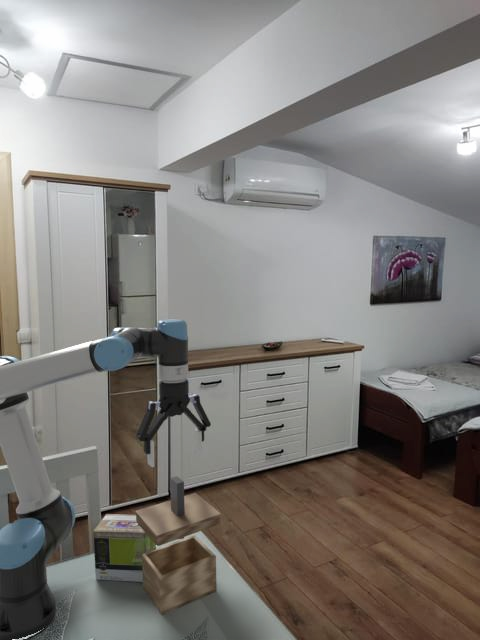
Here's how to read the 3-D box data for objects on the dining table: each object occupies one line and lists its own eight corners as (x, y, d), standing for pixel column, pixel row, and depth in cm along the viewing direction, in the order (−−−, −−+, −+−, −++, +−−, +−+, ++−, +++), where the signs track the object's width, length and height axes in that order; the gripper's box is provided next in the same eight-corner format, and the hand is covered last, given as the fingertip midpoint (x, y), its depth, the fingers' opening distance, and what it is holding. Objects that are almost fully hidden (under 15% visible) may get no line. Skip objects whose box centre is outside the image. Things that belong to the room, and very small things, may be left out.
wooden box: (161, 615, 118) (160, 578, 117) (143, 588, 128) (142, 554, 127) (216, 590, 127) (215, 556, 126) (195, 567, 137) (194, 535, 136)
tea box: (157, 561, 140) (155, 514, 138) (147, 583, 130) (145, 533, 129) (108, 558, 142) (106, 512, 140) (94, 580, 132) (92, 530, 130)
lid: (157, 546, 115) (155, 500, 113) (135, 520, 126) (134, 478, 125) (221, 523, 125) (220, 480, 123) (195, 501, 136) (194, 462, 135)
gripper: (132, 389, 111) (135, 476, 114) (222, 376, 125) (223, 453, 127) (121, 383, 117) (124, 465, 120) (208, 371, 131) (209, 444, 133)
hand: (175, 459), depth 124 cm, fingers open, 13 cm apart
